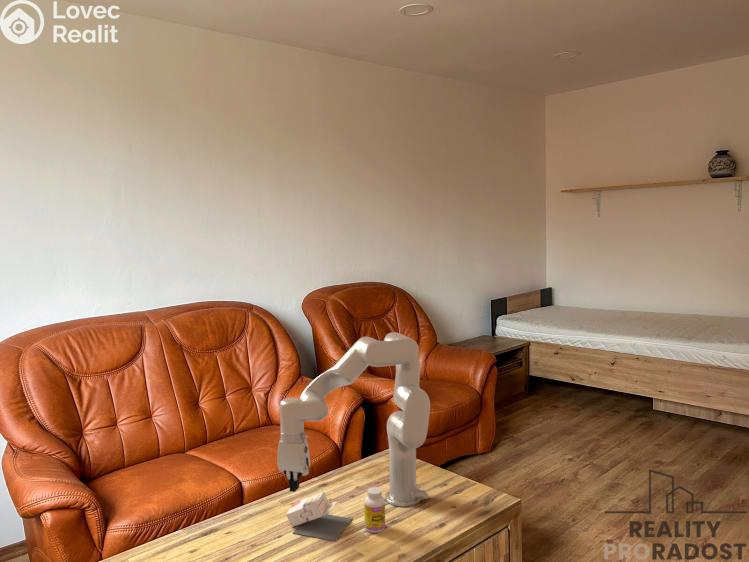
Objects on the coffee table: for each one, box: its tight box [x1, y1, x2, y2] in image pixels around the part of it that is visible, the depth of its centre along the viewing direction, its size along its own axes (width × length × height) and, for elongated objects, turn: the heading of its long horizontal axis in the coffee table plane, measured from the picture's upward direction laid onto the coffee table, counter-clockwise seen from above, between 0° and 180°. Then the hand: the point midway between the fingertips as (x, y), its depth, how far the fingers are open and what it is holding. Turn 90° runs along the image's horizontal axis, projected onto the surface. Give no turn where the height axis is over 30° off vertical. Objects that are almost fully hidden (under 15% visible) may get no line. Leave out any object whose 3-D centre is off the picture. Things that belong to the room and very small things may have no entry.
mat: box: [292, 514, 353, 543], centre depth 187 cm, size 15×14×1 cm
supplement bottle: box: [363, 486, 386, 534], centre depth 185 cm, size 7×7×13 cm
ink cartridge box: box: [285, 491, 338, 528], centre depth 189 cm, size 9×5×15 cm
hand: (294, 489), depth 190 cm, fingers closed
